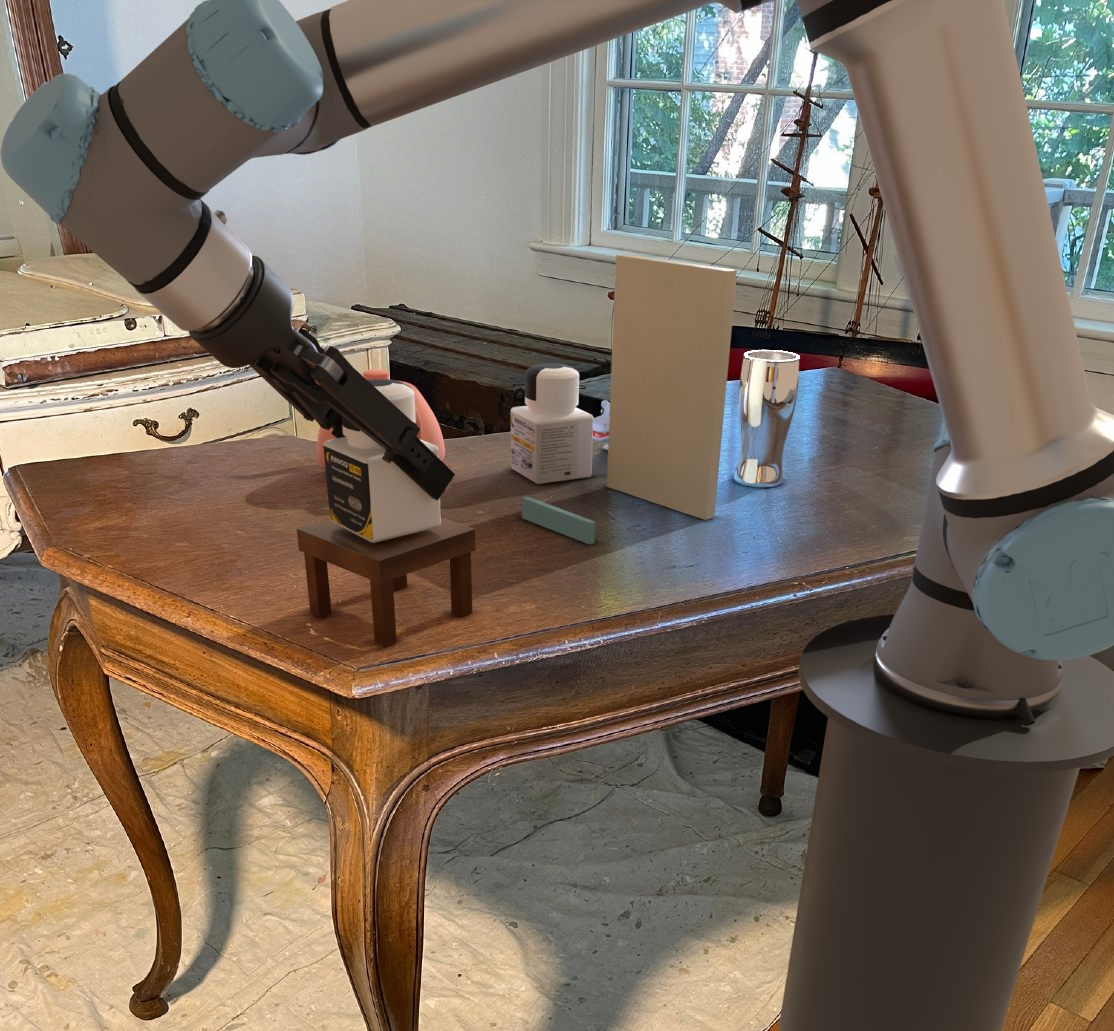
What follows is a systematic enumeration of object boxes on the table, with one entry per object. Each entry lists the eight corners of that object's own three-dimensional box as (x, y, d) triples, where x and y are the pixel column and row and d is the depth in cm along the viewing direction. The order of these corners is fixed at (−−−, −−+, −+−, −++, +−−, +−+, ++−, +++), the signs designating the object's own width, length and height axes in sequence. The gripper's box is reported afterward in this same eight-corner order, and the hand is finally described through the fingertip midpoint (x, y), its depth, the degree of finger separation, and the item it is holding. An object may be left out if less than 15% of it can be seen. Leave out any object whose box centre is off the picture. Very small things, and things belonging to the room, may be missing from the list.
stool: (477, 612, 100) (475, 528, 96) (384, 650, 93) (378, 560, 89) (398, 581, 107) (393, 500, 103) (305, 613, 100) (296, 528, 96)
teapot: (284, 460, 141) (273, 360, 135) (391, 443, 149) (386, 347, 143) (363, 506, 126) (355, 395, 120) (478, 484, 134) (476, 378, 128)
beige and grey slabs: (714, 517, 125) (737, 270, 112) (605, 551, 115) (616, 283, 102) (615, 484, 135) (626, 254, 122) (507, 512, 125) (506, 265, 112)
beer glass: (755, 469, 142) (768, 347, 134) (797, 482, 137) (813, 356, 130) (718, 479, 138) (729, 354, 130) (761, 492, 133) (775, 363, 126)
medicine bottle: (328, 522, 96) (315, 380, 90) (397, 506, 100) (390, 370, 94) (371, 544, 91) (361, 397, 85) (442, 527, 95) (437, 385, 89)
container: (510, 468, 140) (509, 362, 134) (563, 461, 143) (565, 357, 137) (537, 485, 134) (537, 375, 128) (592, 477, 137) (596, 370, 131)
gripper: (323, 264, 72) (513, 466, 90) (185, 236, 85) (375, 417, 103) (260, 358, 72) (463, 542, 89) (130, 316, 85) (330, 484, 102)
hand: (416, 475), depth 96 cm, fingers closed on medicine bottle, 7 cm apart
